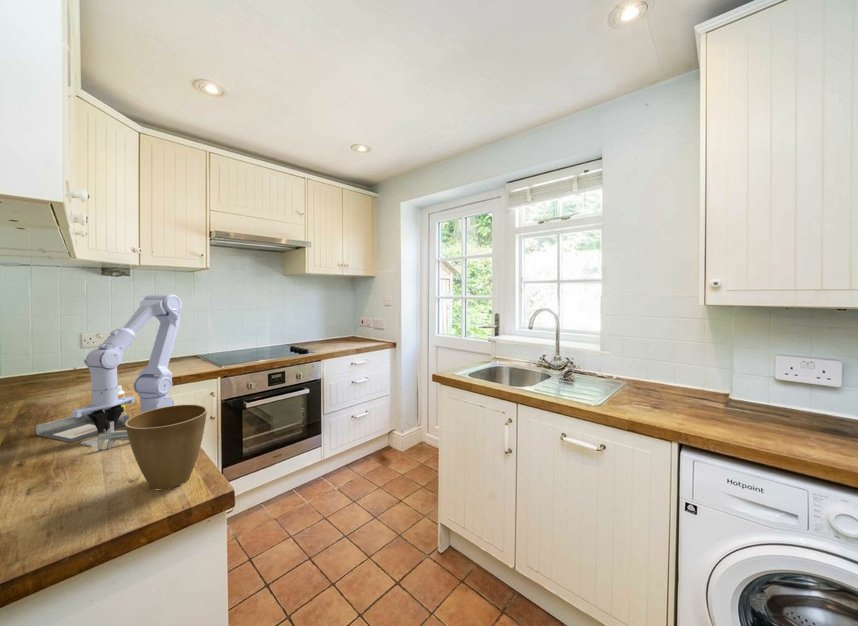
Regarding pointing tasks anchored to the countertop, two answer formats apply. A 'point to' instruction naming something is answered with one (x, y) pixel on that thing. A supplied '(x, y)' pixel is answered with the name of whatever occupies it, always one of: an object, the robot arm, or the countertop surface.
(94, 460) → the countertop surface
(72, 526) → the countertop surface
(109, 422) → the bracket
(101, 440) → the caliper
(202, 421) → the plant pot
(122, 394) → the supplement bottle
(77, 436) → the arena
